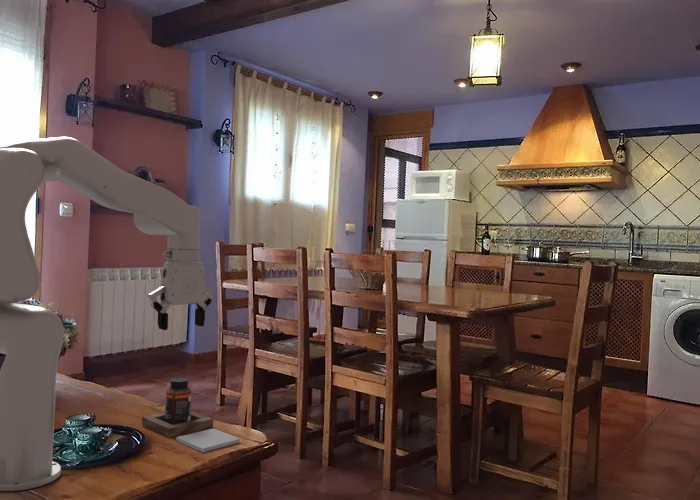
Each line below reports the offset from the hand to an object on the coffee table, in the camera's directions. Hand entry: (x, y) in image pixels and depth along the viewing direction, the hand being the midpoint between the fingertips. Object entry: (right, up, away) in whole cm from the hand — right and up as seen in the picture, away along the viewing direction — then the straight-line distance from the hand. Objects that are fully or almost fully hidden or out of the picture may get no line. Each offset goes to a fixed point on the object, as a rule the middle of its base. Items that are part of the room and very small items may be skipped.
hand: (181, 327), depth 141 cm
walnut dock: (-1, -24, +1) cm, 24 cm away
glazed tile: (+9, -25, -9) cm, 28 cm away
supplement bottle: (-1, -24, +1) cm, 24 cm away
